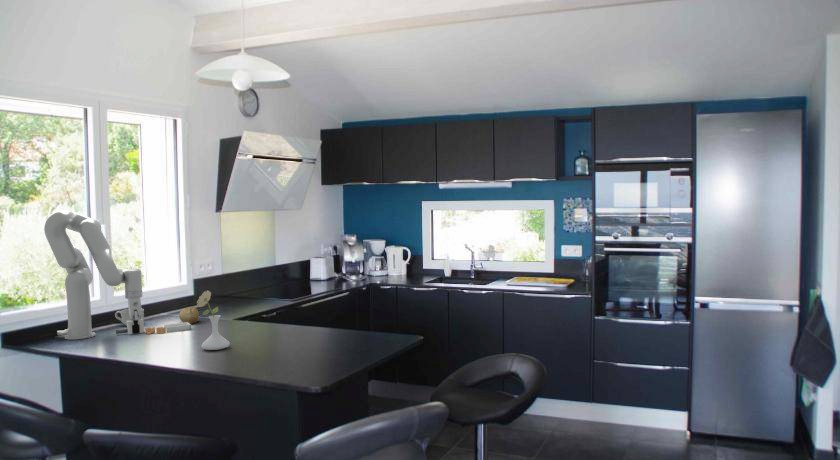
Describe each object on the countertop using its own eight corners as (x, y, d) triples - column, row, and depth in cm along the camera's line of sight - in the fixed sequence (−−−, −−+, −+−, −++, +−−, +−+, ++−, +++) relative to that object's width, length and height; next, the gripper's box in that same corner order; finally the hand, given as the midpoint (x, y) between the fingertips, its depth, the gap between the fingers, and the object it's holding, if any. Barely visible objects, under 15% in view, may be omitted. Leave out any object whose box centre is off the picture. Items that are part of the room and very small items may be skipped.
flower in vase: (220, 344, 269) (217, 286, 268) (235, 348, 262) (233, 288, 261) (192, 350, 259) (189, 290, 258) (207, 354, 251) (205, 292, 250)
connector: (116, 336, 294) (115, 323, 294) (115, 334, 297) (115, 322, 297) (144, 332, 300) (143, 320, 300) (143, 331, 303) (142, 319, 303)
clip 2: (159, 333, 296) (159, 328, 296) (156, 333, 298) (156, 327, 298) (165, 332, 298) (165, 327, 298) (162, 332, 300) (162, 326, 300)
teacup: (148, 323, 325) (147, 307, 325) (137, 327, 314) (136, 311, 314) (123, 323, 327) (122, 308, 326) (111, 327, 316) (110, 311, 316)
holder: (167, 332, 298) (166, 327, 298) (164, 329, 306) (164, 324, 306) (191, 329, 304) (190, 324, 304) (187, 327, 311) (187, 322, 311)
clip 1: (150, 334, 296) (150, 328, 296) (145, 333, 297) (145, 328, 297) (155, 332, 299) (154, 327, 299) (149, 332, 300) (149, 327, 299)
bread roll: (197, 319, 333) (196, 304, 332) (200, 324, 319) (200, 308, 319) (178, 321, 328) (177, 306, 328) (180, 326, 315) (180, 310, 315)
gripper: (144, 295, 294) (146, 334, 295) (140, 291, 308) (141, 328, 309) (126, 297, 290) (128, 336, 291) (123, 293, 304) (125, 330, 305)
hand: (135, 332), depth 300 cm, fingers closed on connector, 4 cm apart
